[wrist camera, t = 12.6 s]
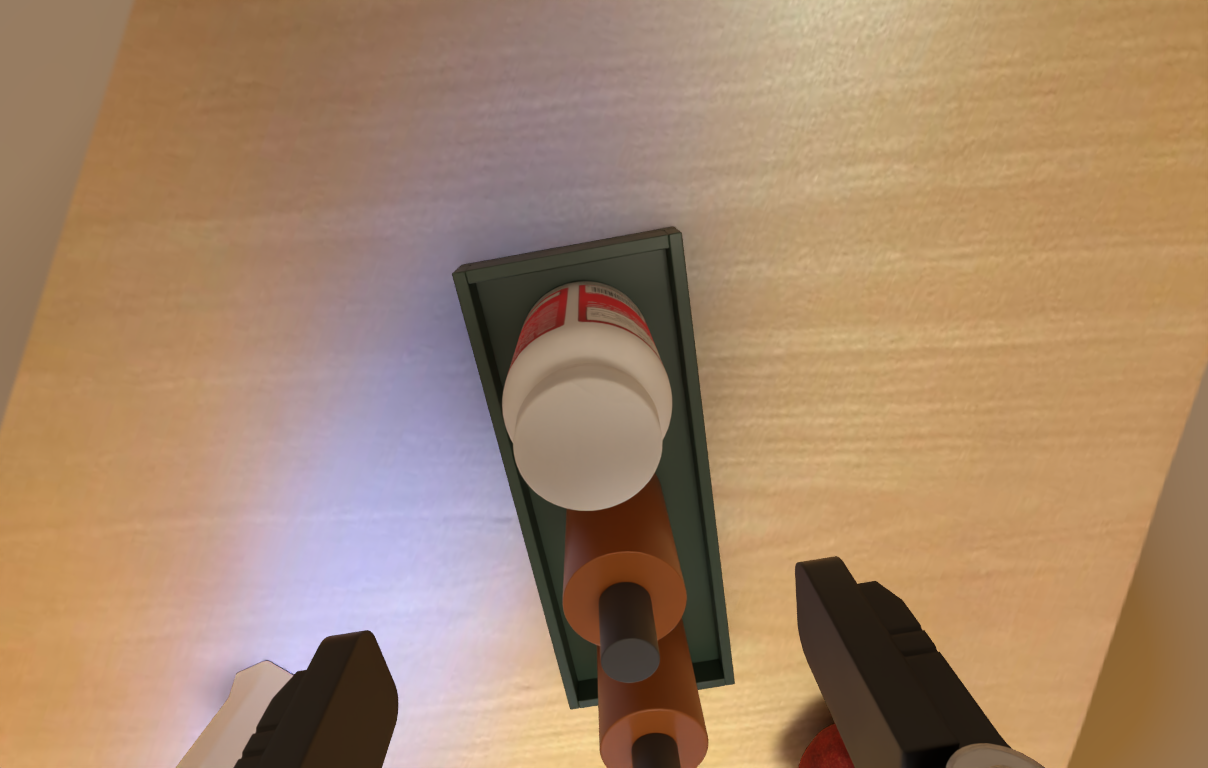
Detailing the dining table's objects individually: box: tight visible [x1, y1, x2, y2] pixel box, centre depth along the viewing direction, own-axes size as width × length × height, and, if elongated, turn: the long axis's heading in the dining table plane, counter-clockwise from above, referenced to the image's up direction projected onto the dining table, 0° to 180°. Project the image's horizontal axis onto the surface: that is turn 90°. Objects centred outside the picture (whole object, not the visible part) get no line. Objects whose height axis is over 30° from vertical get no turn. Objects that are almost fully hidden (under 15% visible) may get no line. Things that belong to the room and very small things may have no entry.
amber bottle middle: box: [563, 473, 687, 683], centre depth 26 cm, size 5×5×11 cm
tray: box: [452, 227, 735, 709], centre depth 31 cm, size 10×27×2 cm, turn 10°
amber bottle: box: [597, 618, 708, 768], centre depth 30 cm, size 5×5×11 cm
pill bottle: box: [502, 281, 672, 511], centre depth 23 cm, size 6×6×11 cm
